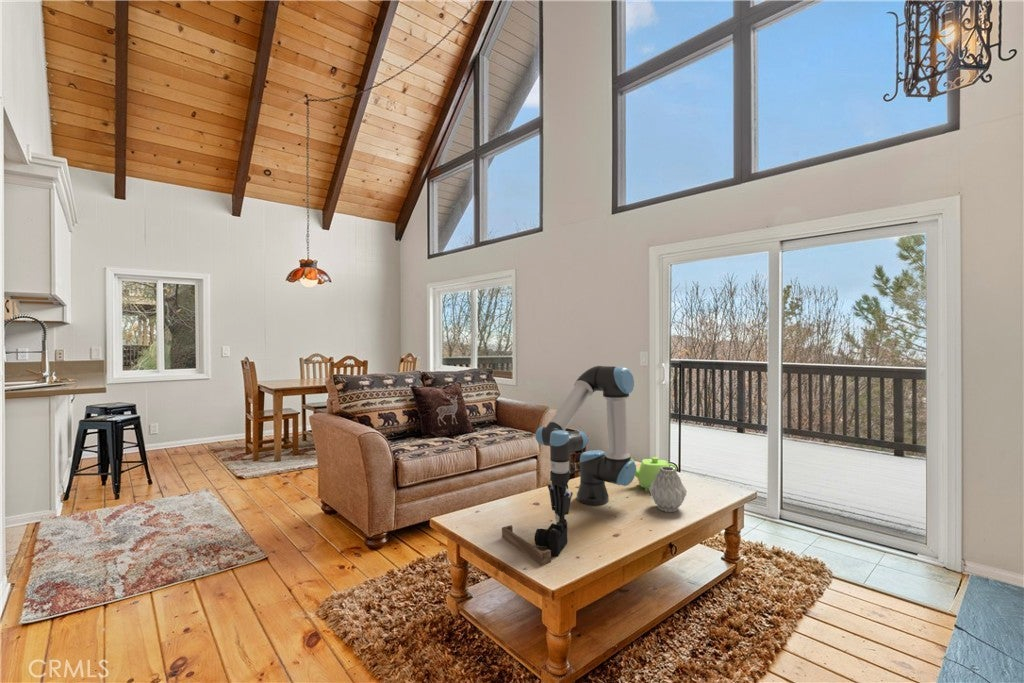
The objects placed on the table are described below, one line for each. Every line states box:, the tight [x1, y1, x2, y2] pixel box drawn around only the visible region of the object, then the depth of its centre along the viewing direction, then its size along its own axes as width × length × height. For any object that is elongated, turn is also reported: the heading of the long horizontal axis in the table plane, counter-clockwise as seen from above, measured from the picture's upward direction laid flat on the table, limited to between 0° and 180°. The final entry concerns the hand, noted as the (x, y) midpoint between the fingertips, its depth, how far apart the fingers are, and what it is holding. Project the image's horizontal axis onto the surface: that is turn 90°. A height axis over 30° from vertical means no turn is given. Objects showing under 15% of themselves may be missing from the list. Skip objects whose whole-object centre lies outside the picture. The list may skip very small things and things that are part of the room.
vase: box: [649, 466, 688, 513], centre depth 212 cm, size 16×16×18 cm
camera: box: [533, 518, 568, 558], centre depth 176 cm, size 14×11×10 cm
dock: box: [501, 524, 552, 566], centre depth 175 cm, size 4×26×4 cm, turn 33°
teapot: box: [631, 456, 678, 492], centre depth 243 cm, size 25×22×16 cm
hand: (560, 530), depth 184 cm, fingers closed
